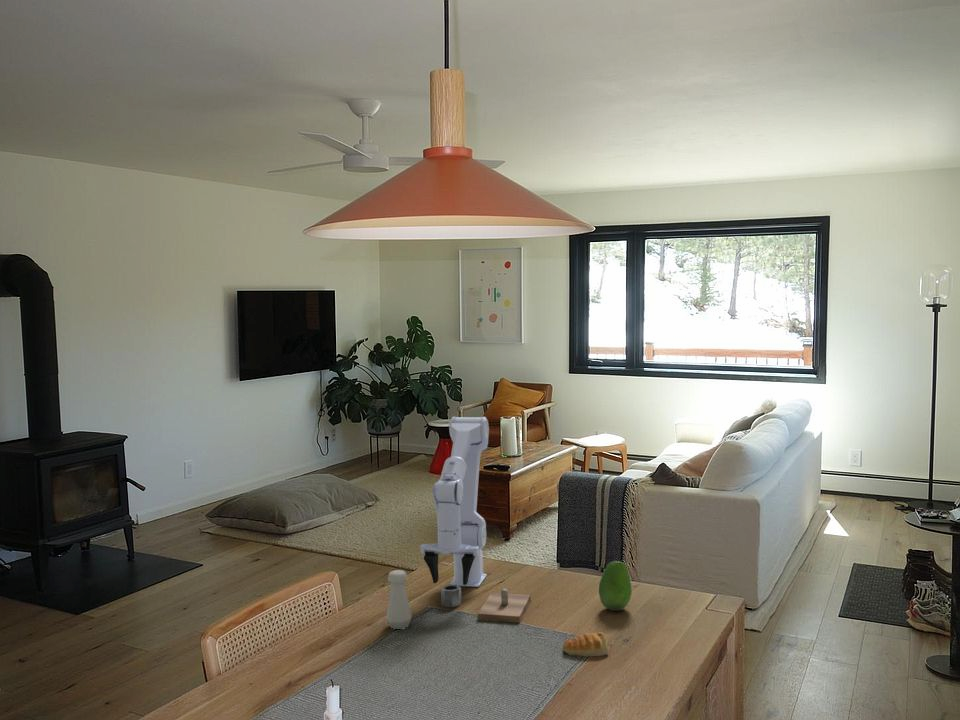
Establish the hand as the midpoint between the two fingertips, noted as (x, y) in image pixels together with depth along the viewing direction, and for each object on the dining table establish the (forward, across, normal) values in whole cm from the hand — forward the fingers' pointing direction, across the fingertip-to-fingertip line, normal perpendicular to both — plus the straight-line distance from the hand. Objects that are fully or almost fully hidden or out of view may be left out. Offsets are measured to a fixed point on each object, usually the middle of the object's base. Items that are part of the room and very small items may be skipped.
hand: (450, 582), depth 203 cm
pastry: (+6, +36, -21) cm, 42 cm away
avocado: (+6, +40, +3) cm, 40 cm away
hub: (+5, 0, 0) cm, 5 cm away
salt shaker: (+6, -8, -16) cm, 19 cm away
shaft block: (+5, +14, -2) cm, 15 cm away
